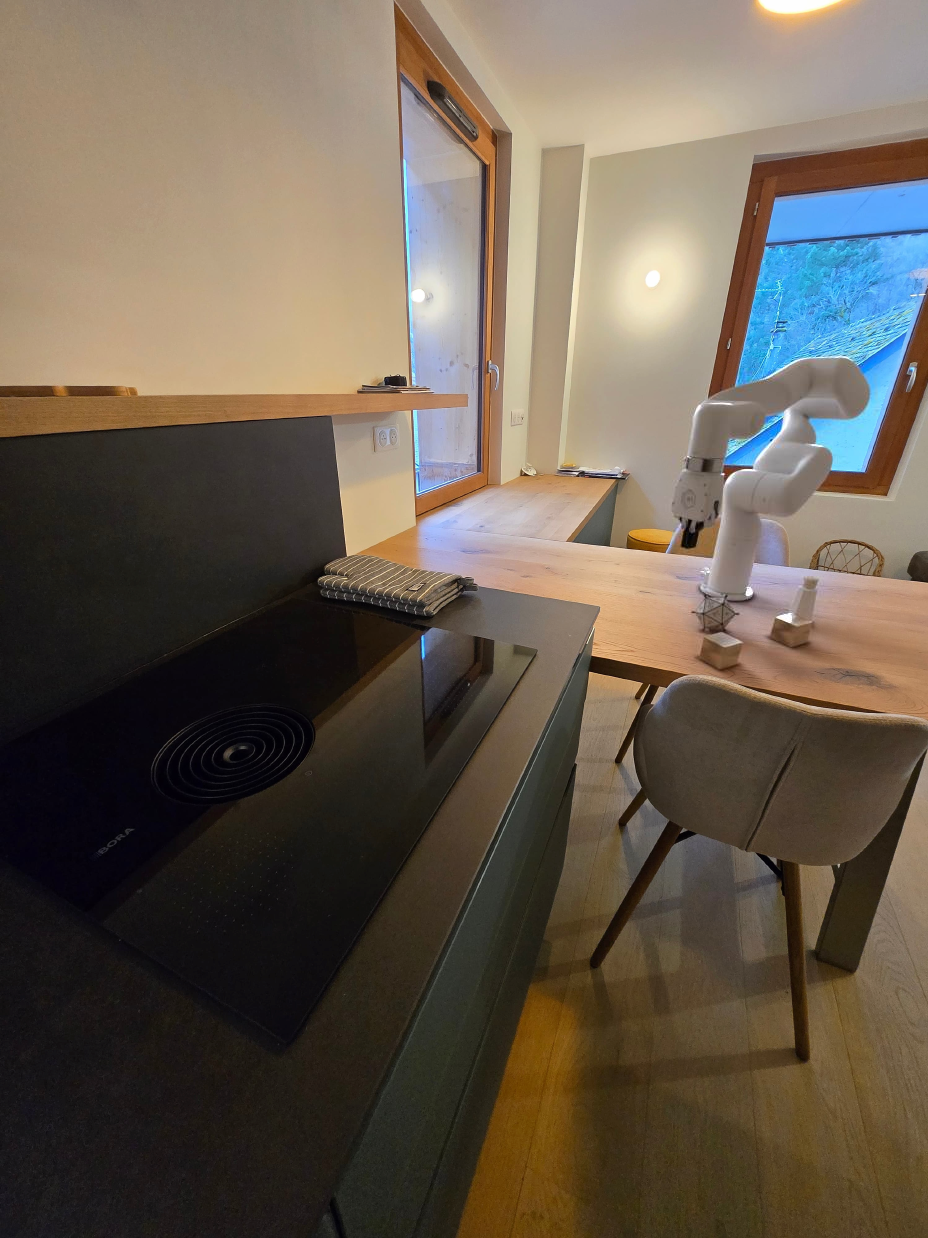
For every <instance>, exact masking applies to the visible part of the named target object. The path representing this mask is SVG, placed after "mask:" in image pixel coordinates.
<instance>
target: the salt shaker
mask: <svg viewBox="0 0 928 1238" xmlns="http://www.w3.org/2000/svg"><path fill="white" fill-rule="evenodd" d="M819 581H820V580H819V578H818V577H816V576H810V575H806V576H804V577H803V580H802V584H801V585H799V586H798V588H797V590H796V592H795V595H794V598H793V599H792V601H791V604H790V607H789V609H788V611H787V613H786V614H789V613H792V614H795V615H797V616H800V617H802V618H805V619H807V620H810V621H812V620H813V619H812V618H813V613H814V610H815V609H814V608H815V603H816V599H817V593H818V588H817V585H818V582H819Z"/></svg>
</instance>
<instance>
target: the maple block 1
mask: <svg viewBox="0 0 928 1238" xmlns="http://www.w3.org/2000/svg"><path fill="white" fill-rule="evenodd" d="M701 643H702V644H701V647H700V651H699V657H698V658H699V659H700V660H702V661H703V662H705V663H706V664H709V665H711V667H714V668H715V669H717V670H719V671H720V670H723V669H726V668H729V667H733V666H735V665H738V663H739V659H740V655H741V651H742V647H743V643H744V642H743V641H741V640H739V639H737V638H735V637H733V636H731V635H729V634H727V633H724V631H720V632H717V633H713V634H709V635H705V636H703V639H702V642H701Z"/></svg>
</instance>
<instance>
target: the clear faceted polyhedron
mask: <svg viewBox="0 0 928 1238" xmlns="http://www.w3.org/2000/svg"><path fill="white" fill-rule="evenodd" d="M727 596H728V594H727V595H725V597H712V596H710V597H709V596H708V597H707V594H705V593H703V597H704V599H703V600H702V602H701V603H700V604H699V606H698V607H697V608H696V609H695V611H694V610H692V611H690V614H695V616H696V618H697V619H698V620H699V622H700V624H701V626H702V629H701V632H705V630H707V629H708V630H709V629H710V630H712V629H713V630H716V629H717V630H723V632H727V628H726V627H727V626H728V625H729V623H730V622H732V620H733V618H734V617H735V616H740V613H739V612H736V611H735V610H734V608H733V607H732V606H731V604H730V602H729V600H727V599H726V598H727Z"/></svg>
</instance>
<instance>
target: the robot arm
mask: <svg viewBox="0 0 928 1238" xmlns="http://www.w3.org/2000/svg"><path fill="white" fill-rule="evenodd" d="M870 398H871V388H870V384H869V382H868V380H867V379H866V377H865V375H864V373H863V372H862V370H861V368H860V367H859V365H858V364H857V363H856V362H855V361H854V360H853V359H851V358H849V357H847V356H820V357H817V356H816V357H804V358H800V359H796V360H794V361H792V362H790V363H789V364H787V365H786V366H784V367H782V368H780V369H779V370H777V371H775V372H774V373H771V374H770V375H768V376H767V377H765V378H761V379H757V380H753V381H751V382H747V383H744V384H739V385H737V386H733V387H729V388H726V389H724V390H722V391H719V392H717V393H715V394H713V395H712V396H709V398H706V400H704V401H703V402H702V403H700V404H699V405H698V406H697V407H696V409H695V412H694V414H693V416H692V427H691V433H690V439H689V444H688V449H687V455H686V456H685V457H684V458H683V462H684V464H685V466H684V469H681V471H680V473H679V476H678V478H677V481H676V483H675V487H674V490H673V495H672V498H671V503H670V512H671V513H672V514H673V517H674V518H675V519H677V520H678V521H679V522H680V525H681V530H682V536H681V541H680V548H683V549H684V550H685V549H686V550H689V549H695V548H696V547H697V544H698V539H699V534H700V532H702V531H703V529H705V528H712V527H713V528H714V527H715V526H716V520H717V519H718V518H719V515H720V513H721V508H722V513H721V519H720V524H719V529H718V533H717V537H716V541H715V542H716V543H715V547H714V552H713V555H712V561H711V565H710V568H708V567H705V566H703V567H702V568H701V569H700V570H699V571H698V573H697V575H698V577H699V576H700V577H702V578H704V581H701V584H700V586H699V589H700V590H701V592H703V594H705V595H706V596H708V597H709V596H710V597H725V595H727V594H728V596H727V598H726V599H727V601H733V602H736V601H738V602H739V601H740V602H741V601H746V600H749V599H751V598H752V597H753V594H754V591H753V589H752V588H751V587H749V583H750V580H751V579H750V578H751V576H752V572H753V568H754V564H755V560H756V556H757V552H758V548H759V544H760V541H761V538H762V533H763V524H762V520H761V517H760V514H762V515H767V516H773V517H779V518H788V517H791V516H793V515H795V514H796V513H797V512H798V511H799V510H800V509H802V507H803V506H804V505H805V504H806V503H807V502H808V500H810V499H811V497H812V496H813V495H814V494H815V493H816V492H817V490H818V489H819V488H820V487H821V486H822V485H823V483H824V482H825V481H826V480H827V478H828V476H829V474H830V472H831V470H832V467H833V461H834V458H833V453H832V452H831V450H830V449H829V448H828V447H826V446H823V445H818V444H816V442H817V434H816V430H815V428H814V426H813V425H812V423H811V422H810V419H814V420H815V419H819V420H837V421H839V420H840V421H844V420H845V421H848V420H853V419H855V418H857V417H859V416H861V414H862V413H864V411H865V410H866V408H867V406H868V405H869V402H870ZM781 413H783V416H782V424H781V428H780V431H779V432H778V434H777V435H776V436H774V438H773V439H772V440H771V441H770V442H769V444H767V445H766V447H765V448H763V450H762V451H761V452H760V453H759V455H757V457H756V458H755V460H754V462H753V466H752V469H740V470H736V471H735V472H733V473H731V474H730V475H729V476H728V477H727V478H726V481H725V473H724V472H723V471H724V466H725V461H726V458H727V453H728V447H729V443H730V440H748V439H752V438H753V437H755V436H756V435H758V434H759V433H760V432H761V431H762V430H763V428H764V426H765V423H766V422H767V420H766V419H767V417H772V416H776V415H780V414H781Z"/></svg>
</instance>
